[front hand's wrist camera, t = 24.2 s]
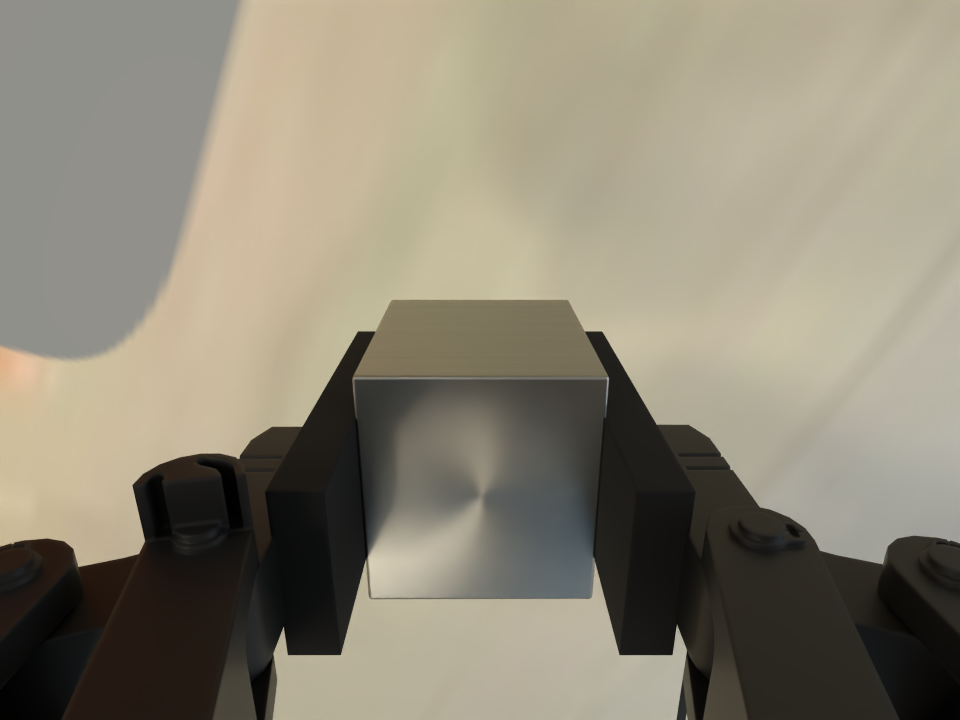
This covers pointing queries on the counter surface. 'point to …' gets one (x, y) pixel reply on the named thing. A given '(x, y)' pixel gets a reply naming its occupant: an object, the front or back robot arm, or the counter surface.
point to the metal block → (480, 450)
